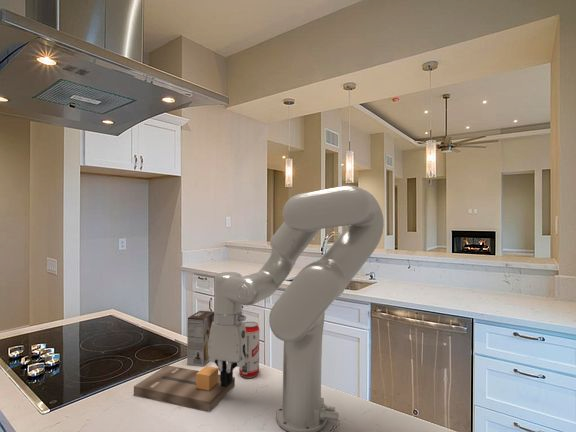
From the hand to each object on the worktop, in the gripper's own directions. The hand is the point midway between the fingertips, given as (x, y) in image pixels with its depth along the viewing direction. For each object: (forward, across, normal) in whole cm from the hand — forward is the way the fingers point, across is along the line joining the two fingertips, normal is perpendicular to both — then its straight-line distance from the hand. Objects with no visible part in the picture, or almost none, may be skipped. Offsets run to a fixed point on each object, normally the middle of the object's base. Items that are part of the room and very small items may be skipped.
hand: (226, 384), depth 90 cm
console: (+4, +13, 0) cm, 13 cm away
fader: (+1, +6, 0) cm, 6 cm away
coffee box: (+4, +20, -19) cm, 28 cm away
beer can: (+4, 0, -15) cm, 16 cm away
